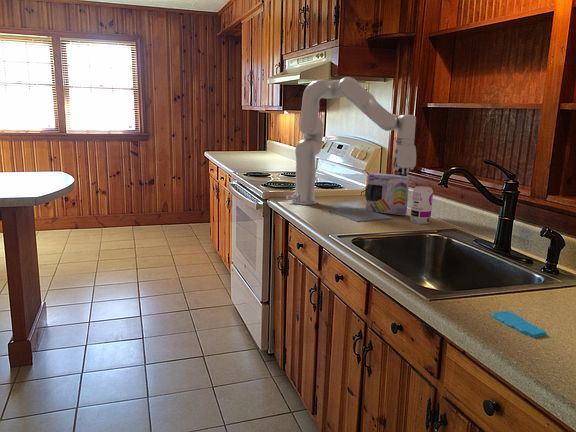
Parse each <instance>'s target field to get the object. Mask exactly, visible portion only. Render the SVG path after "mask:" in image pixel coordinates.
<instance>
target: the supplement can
mask: <svg viewBox="0 0 576 432" xmlns="http://www.w3.org/2000/svg"><path fill="white" fill-rule="evenodd" d="M433 198H434V191H433V188H432V187H430V186H424V185H422V186H414V188H413V190H412V196H411V207H410V210H411V211H410V219H409V220H410V221H411V222H412V223H413V224H416V225H417V224H418V225H427V224H429V223H430V222H431V218H432V208H433Z"/></svg>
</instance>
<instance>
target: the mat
mask: <svg viewBox="0 0 576 432" xmlns="http://www.w3.org/2000/svg"><path fill="white" fill-rule="evenodd" d="M330 212H331V213H334V214H336V215H339V216H341V217H344V218H346V219H348V218H349V219H348V220H351V221H354V222H356V221H357V222H356V223H361V221H364V222H371V221H372V222H373V221H383V220H386V221H387V220H393V219H394V217H392V216H389V215H386V214H384V213H381V212H374V211H367V210H366V207H359V208H346V209H345V208H343V209H330Z"/></svg>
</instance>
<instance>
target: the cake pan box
mask: <svg viewBox="0 0 576 432" xmlns="http://www.w3.org/2000/svg"><path fill="white" fill-rule="evenodd" d="M367 177H368V178H367V179H368V180H367V184H366V186H365V189H364V190H365V191H364V196H365V200H366V201H365V202H366V203H365V208H366V210H367V211H374V212H378V213H380V214H389V215H395V216H396V215H399V216H405V215H407V212H408V200H409V189H410V187H409V186H410V176H409V175H407V176H400V174H399V175H398V174H390V173H382V172H381V173H380V172H370V173H368V176H367Z"/></svg>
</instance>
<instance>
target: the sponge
mask: <svg viewBox="0 0 576 432" xmlns="http://www.w3.org/2000/svg"><path fill="white" fill-rule="evenodd" d="M490 315H491V317H492V318H493V319H494V320H496V321H498V322H500V323H503V324H504V325H505V326H508V327H509V328H512V329H513V330H515V329H516V331H517V332H519V333H520V332H521V334H523V335H526V334H527V335H526V336H528V337H532V338H533V339H535V337H536V338H539V337H540V336H541V337H546V336H547V332H546V331H545V330H543V329H542V328H540V327H538V326H536V324H533V323H532V322H530V321H528V320H527V319H524V318H523V317H521V316H520V315H518V314H516V313H515V312H512V311H511V310H508V311H507V310H504V311H497V312H493V313H491V314H490ZM541 337H540V338H541Z"/></svg>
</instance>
